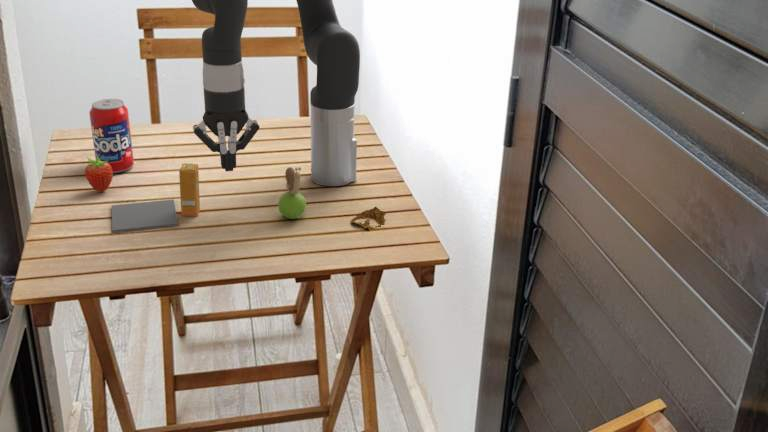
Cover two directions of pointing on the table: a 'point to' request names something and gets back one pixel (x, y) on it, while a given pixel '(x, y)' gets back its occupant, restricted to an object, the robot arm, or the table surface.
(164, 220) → the mat
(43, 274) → the table surface
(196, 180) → the supplement box
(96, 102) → the soda can
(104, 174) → the fruit
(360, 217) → the leaf
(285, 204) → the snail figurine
